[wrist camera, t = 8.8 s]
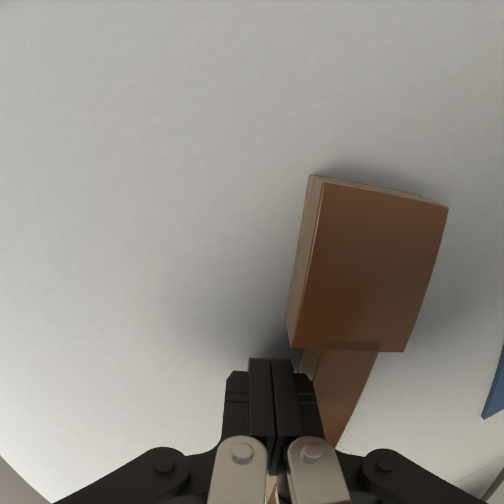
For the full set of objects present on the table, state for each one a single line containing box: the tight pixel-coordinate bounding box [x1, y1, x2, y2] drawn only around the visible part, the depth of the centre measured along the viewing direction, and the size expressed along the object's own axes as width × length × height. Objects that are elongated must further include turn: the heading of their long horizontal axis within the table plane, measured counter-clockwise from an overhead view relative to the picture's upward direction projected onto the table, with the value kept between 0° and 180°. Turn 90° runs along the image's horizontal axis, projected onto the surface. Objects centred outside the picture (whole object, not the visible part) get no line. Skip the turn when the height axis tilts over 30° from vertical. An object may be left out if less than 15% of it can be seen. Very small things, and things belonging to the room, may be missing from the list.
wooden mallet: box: [266, 175, 448, 504], centre depth 11 cm, size 16×4×2 cm, turn 173°
